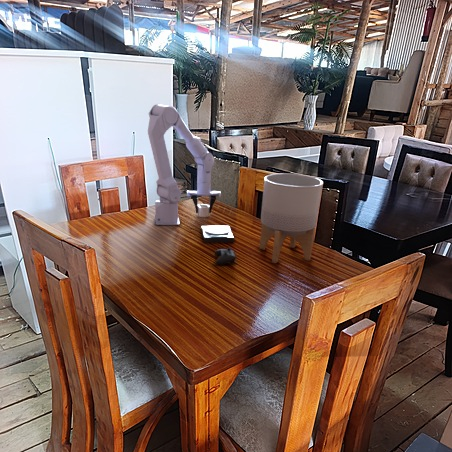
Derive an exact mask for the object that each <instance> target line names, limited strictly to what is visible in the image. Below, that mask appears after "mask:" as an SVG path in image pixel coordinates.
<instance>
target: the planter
mask: <svg viewBox="0 0 452 452" xmlns="http://www.w3.org/2000/svg"><path fill="white" fill-rule="evenodd" d="M323 186H324V181H323V180H321V179H320V178H318V177H315V176H310V175H306V174H299V173H286V172H285V173H284V172H283V173H271V174H268V175H266V176H264V181H263V192H262V202H261V211H260V212H261V213H260V222H261V227H260V228H261V229H260V237H259V238H260V241H259V250H263V251H265V250H266V249H267V245H268V242H269V241H270V240H271V239H272V238H273V237H274V238H273V245H272V246H273V247H272V256H271V263H272V264H277V263H278V262H279V257H280V253H281V250H282V247H283V245H284V242H285V240H286V239H287V237H289V240H290V241H289V242H290V243H289V247H290V248H293V249H294V248H296V245H297V243H298V244H299V245H300V247H301V249H302V252H303V253H302V254H303V260H304V261H308V262H309V261H310V260H311V256H312V250H313V244H314V239H315V233H316V227H317V223H318V216H319V210H320V205H321V204H320V203H321V198H322V191H323Z"/></svg>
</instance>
